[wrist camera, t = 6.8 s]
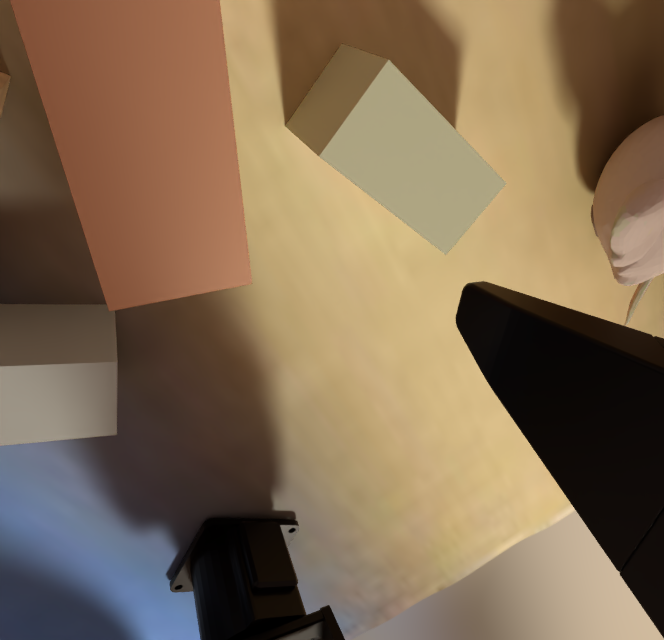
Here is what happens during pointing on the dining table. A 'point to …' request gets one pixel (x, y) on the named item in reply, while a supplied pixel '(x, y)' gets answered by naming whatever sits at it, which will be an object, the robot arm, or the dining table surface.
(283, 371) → the dining table surface
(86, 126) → the terracotta brick
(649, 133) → the toy
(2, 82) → the beech brick
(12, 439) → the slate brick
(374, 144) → the sage brick
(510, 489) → the dining table surface
